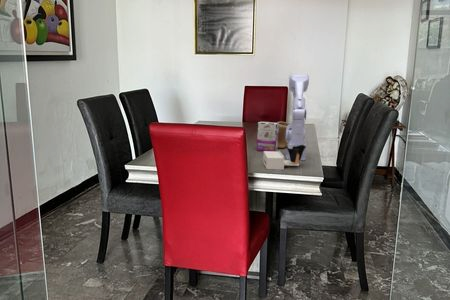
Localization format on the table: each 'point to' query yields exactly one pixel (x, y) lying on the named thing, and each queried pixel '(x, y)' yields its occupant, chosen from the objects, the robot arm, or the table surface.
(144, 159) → the table surface
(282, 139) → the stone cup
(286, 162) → the cream slab with block
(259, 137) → the candy bar box
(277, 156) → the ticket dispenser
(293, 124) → the robot arm
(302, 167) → the table surface
